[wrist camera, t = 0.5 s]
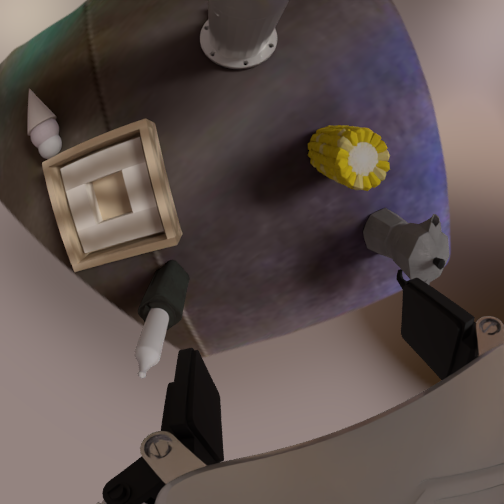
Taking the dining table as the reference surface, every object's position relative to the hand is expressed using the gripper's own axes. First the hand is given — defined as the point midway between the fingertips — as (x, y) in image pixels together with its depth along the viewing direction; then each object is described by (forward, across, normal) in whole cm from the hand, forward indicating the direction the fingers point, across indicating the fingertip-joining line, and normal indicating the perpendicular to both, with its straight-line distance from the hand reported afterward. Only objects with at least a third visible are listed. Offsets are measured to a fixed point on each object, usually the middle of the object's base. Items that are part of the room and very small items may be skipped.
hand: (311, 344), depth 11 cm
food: (+36, -17, -6) cm, 40 cm away
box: (+36, +20, -8) cm, 42 cm away
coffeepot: (+36, -25, +12) cm, 46 cm away
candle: (+37, +15, +8) cm, 40 cm away
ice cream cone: (+36, +30, -26) cm, 53 cm away
